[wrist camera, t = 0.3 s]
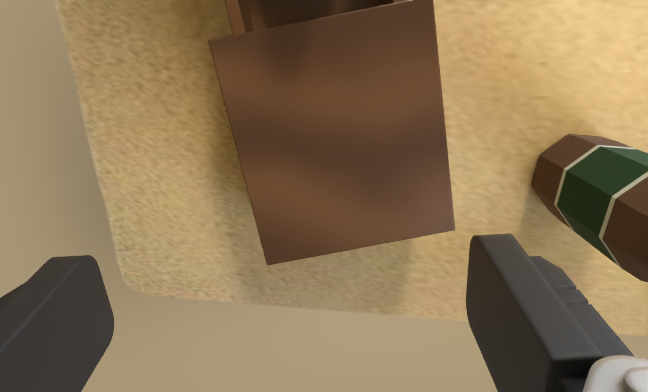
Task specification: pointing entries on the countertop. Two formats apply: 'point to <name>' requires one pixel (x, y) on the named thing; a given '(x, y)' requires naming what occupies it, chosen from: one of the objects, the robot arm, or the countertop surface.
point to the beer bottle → (599, 196)
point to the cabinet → (340, 129)
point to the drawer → (288, 11)
